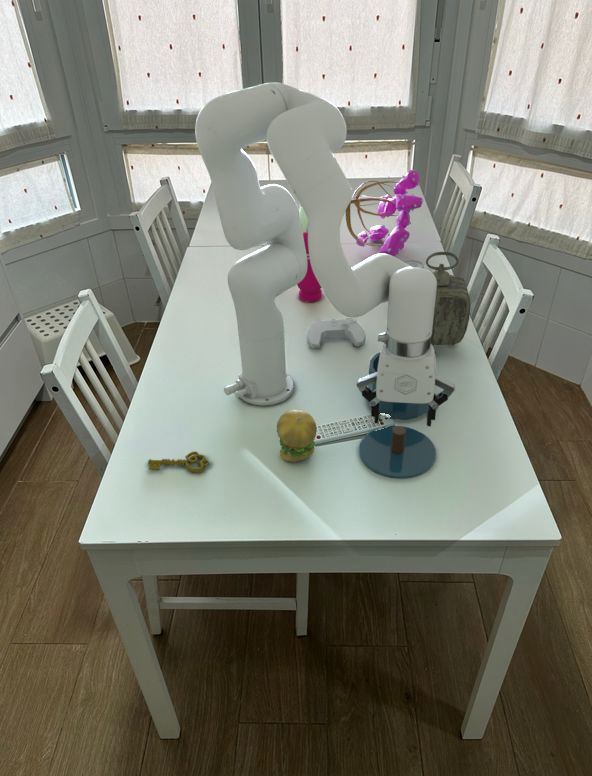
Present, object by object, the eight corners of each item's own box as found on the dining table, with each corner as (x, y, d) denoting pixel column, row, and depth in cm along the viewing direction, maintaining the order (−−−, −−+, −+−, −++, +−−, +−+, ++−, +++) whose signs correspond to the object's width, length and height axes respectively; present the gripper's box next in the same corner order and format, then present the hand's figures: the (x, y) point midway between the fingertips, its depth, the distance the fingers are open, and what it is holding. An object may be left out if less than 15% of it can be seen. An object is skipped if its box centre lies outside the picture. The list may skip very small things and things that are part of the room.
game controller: (307, 343, 149) (304, 314, 156) (307, 356, 153) (304, 328, 159) (368, 339, 150) (362, 311, 156) (366, 352, 153) (361, 324, 160)
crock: (397, 430, 129) (401, 393, 123) (354, 399, 137) (356, 362, 131) (444, 405, 135) (449, 368, 129) (400, 376, 143) (403, 340, 137)
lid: (395, 492, 115) (397, 467, 111) (343, 450, 124) (344, 426, 121) (451, 458, 122) (455, 434, 118) (398, 420, 131) (400, 397, 127)
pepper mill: (320, 304, 170) (320, 232, 158) (294, 302, 172) (292, 231, 159) (325, 291, 176) (325, 221, 163) (300, 289, 177) (298, 220, 164)
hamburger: (306, 441, 127) (305, 394, 119) (324, 463, 122) (324, 414, 114) (272, 454, 124) (268, 406, 116) (288, 476, 119) (286, 428, 111)
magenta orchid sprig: (304, 138, 186) (418, 151, 191) (292, 219, 209) (395, 229, 213) (307, 199, 169) (433, 212, 173) (294, 280, 192) (405, 290, 196)
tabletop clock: (459, 341, 154) (474, 244, 138) (463, 361, 147) (480, 262, 132) (399, 340, 155) (408, 243, 139) (401, 360, 148) (410, 261, 132)
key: (145, 467, 120) (151, 449, 124) (146, 472, 121) (152, 454, 125) (207, 469, 119) (211, 451, 123) (207, 473, 120) (211, 456, 124)
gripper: (355, 350, 105) (354, 430, 116) (461, 355, 103) (450, 436, 113) (359, 328, 111) (357, 405, 121) (459, 331, 108) (449, 410, 119)
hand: (402, 420), depth 117 cm, fingers open, 9 cm apart
